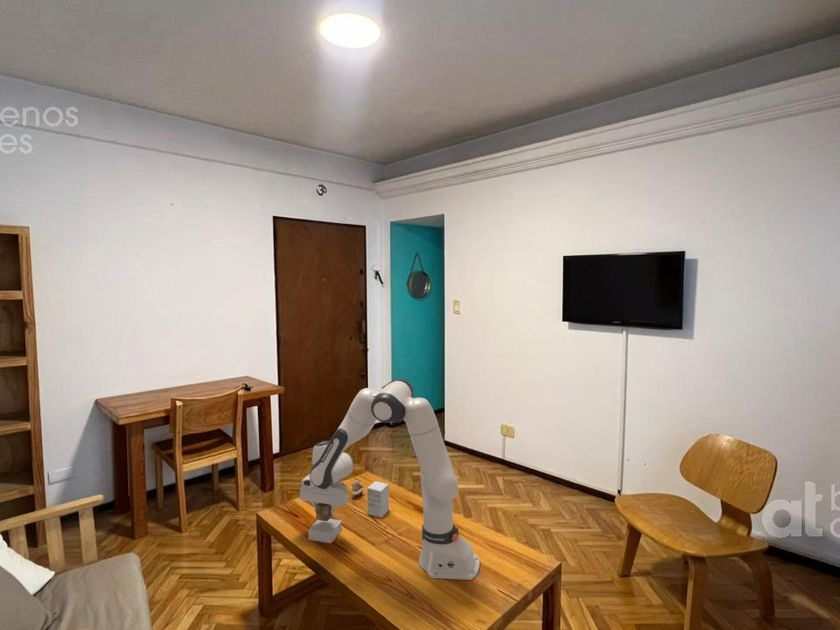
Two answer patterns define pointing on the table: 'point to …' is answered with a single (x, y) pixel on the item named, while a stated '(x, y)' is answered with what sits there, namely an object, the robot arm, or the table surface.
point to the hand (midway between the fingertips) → (324, 512)
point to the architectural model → (357, 488)
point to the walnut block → (323, 512)
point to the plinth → (325, 530)
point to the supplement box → (378, 499)
